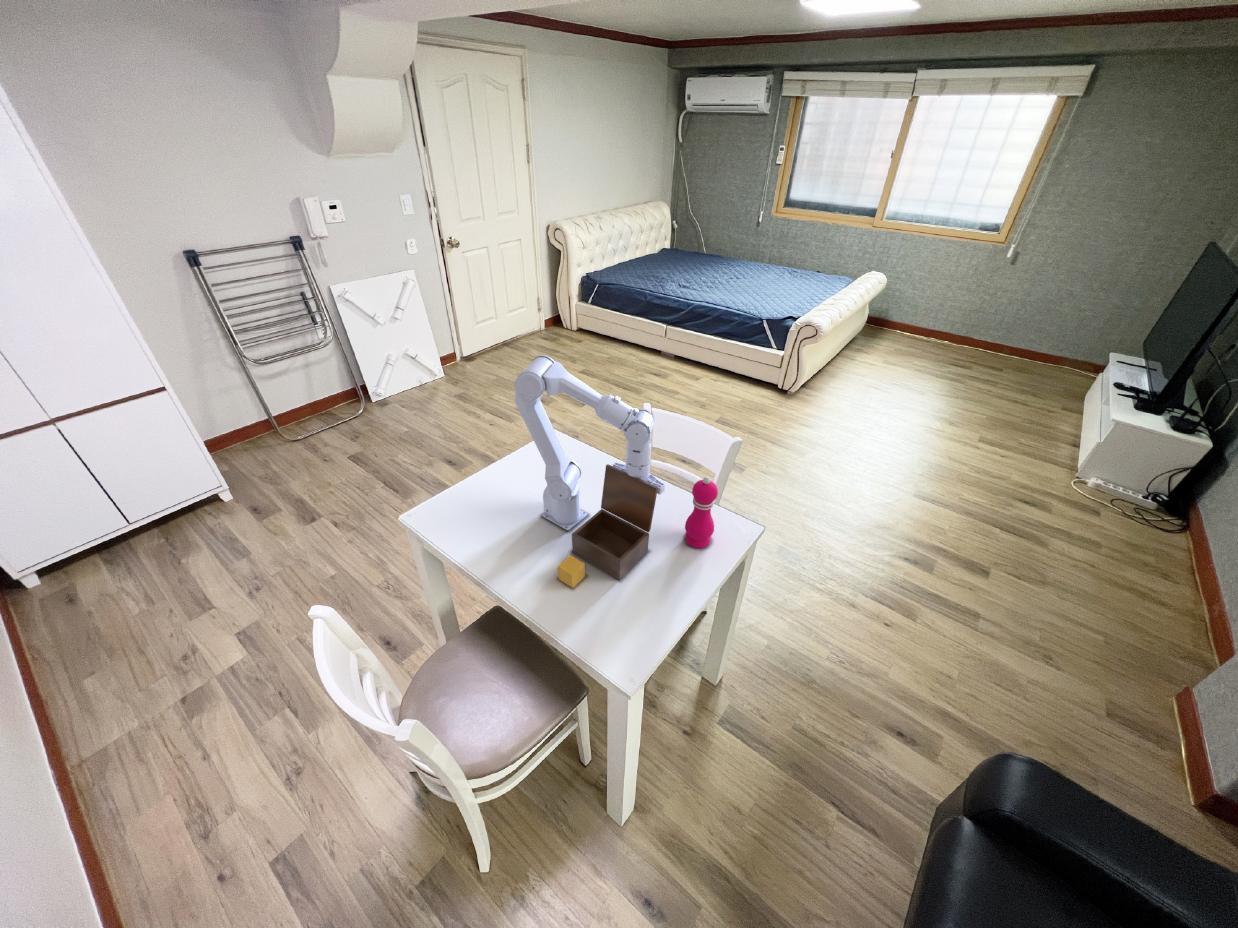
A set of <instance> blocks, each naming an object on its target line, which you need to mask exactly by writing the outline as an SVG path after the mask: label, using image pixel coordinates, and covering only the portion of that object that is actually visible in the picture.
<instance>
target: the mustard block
mask: <svg viewBox="0 0 1238 928" xmlns="http://www.w3.org/2000/svg"><path fill="white" fill-rule="evenodd" d="M557 577H558V580H559V581H561V582H562V583H564V584H565V585H566V586H569V587H570V588H572V589H574V588H575V587H576V586H577V585H578V584H579V583H580V582H581V581H582V580H583V579H585V577H586V564H585V562H584V561H581V560H579V559H578V558H576V557H575V556H573V555H571V554H570V555H568V556H567V557H566V558H565V559H564V560H563V561H562V562H561V563H560V564H558V565H557Z"/></svg>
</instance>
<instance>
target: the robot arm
mask: <svg viewBox="0 0 1238 928" xmlns="http://www.w3.org/2000/svg"><path fill="white" fill-rule="evenodd" d="M513 387H514V389H515V390H514V391H515V393H514V402H515V403H514V404H515V405H516V407H517V409H518V412H519V413H520V416H521V418H522V420H523V422H524V424H525V426H526V428H527V430H528V432H529V435H530V437H531V438H532V440H533V442H534V445H535V446H536V448H537V450H538V452H539V455H540V457H541V458H542V460H543V463H544V464H545V472H544V479H545V482H546V484H547V485H546V487H545V488H544V490H543V493H542V502H543V503H542V504H543V513H542V514H541V515H542V517H543V518H544V519H546V520H548V521H550V522H552V523H553V524H555V525H557V526H559V527H561V528H562V529H563V530H566V531H570V530H571V529H573V528H574V527H575V526H576V525H578V523H580V522H581V521H583V520H584V518H586V517H588V513H587V512H586V511H584V510H582V509H581V499H580V498H581V497H580V486H579V483H578V482H579V480H580V478H581V476H582V468H581V466H580V465H579V464H578V463H577V462H576V461H575V460H574V459H573V457H572V455H570V454H567V453H565V451H564V448H563V447H562V444H561V441H560V440H559V438H558V436H557V433H556V431H555V430H554V427H553V425H552V421H551V420H550V418H549V416H548V414H547V412H546V409H545V407H544V405H543V403H542V400H541V399H542V397H543V396H544V395H543V394H544V393H545V392H546V395H545V396H546V397H551V396H555V395H559V394H564V395H566V396H569V397H570V398H572V399H574V400H576V401H578V402H580V403H582V404H584V405H586V406H588V407H589V408H592V409H594V411H595V414H596V416H597V418H599V419H600V420H602V421H604V422H606V423H607V424H609V425H611V426H612V427H614V428H616V429H617V430H618V431H621V432H623V435H624V438H625V439H626V446H625V449H626V450H625V464H622V463H618V462H614V463H613V464H611V466H613V467H615V468H617V469H619V470H622V471H624V472H626V473H627V474H628V475H629V476H631V477H635V478H639V479H641V480H643V481H646V482H648V483H650V484H652V485H654V486H657V487H658V491H657V495H661V494H663V493H664V492H665V489H666V484H665V483H663V482H661V481H660V480H659V479H658V478H657V477H655V476H654V475H653V474H652V473H651V472H650V468H651V455H652V431H653V429H654V426H655V418H654V415H653V414H652V413H651V412H650V411H648V409H646V408H636V407H632V406H631V405H629V404H627V403H625V402H624V401H622V400H621V399H622V398H621V397H619V396H618V395H615V396H614V395H613V394H611V393H610V394H603V395H602V394H601V393H600V392H598V391H596V389H593V388H592V387H591V386H589V385H588V384H586V383H584V381H582V380H580V379H579V378H577V377H576V376H575V375H573V374H572V373H570V372H569V371H567V370H566V368H565V367H564V366H563V364H562V363H561V362H559V361H557V360H554V359H553V358H552V357H551V356H548V355H545V354H539V355H536V356H535V357H534V358H533V359H532V360H531V362H530V363H528V365H527V366H526V368H525V369H523V371H521V372H520V373H519V374H518V376H517V378H516V379H515V381H514V382H513Z"/></svg>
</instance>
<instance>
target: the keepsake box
mask: <svg viewBox="0 0 1238 928" xmlns="http://www.w3.org/2000/svg"><path fill="white" fill-rule="evenodd" d="M649 543H650V532H646V531H644V530H642V529H640V528H639V527H637V526H635V525H633V524H631V523H629V522H627V521H625V520H623V519H621V518H619V517H617V516H615V515H613V514H612V513H610V512H608V511H606V510H604V509H602V508H601V509H600V510H598V511H597V512H596V513H594V514H593V516H591V517H590V518H589V519H588V520H587V521H586V522H584V523H583V524H582V525H581V526H579V527H578V528H577V529H575V530H574V531H573V532H572V533H571V551H572V553H573V554H575V555H577V556H578V557H579V558H581V559H583V560H584V561H587V562H588V563H590V564H592V565H593V566H595V567H597V568H598V569H600V570H602V571H603V572H605V573H606V574H608V575H610V576H612V577H613V578H615V579H617V580H618V581H621V580H622V579H623V577H625V576H626V575H627V574H628V573H629V572H630V570H632V569H633V567H634V566H635V565H637V564H638V563H639V561H640V560H641V559H642V558H643V557H644V556H645V555H646V554H647V553H648V552H649Z"/></svg>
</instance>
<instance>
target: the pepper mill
mask: <svg viewBox="0 0 1238 928" xmlns="http://www.w3.org/2000/svg"><path fill="white" fill-rule="evenodd" d="M692 486H693V487H692V488H691V494H692V504H693V510H692V512H691V514H689V515H688V517H687V519H686V521H685V524H684V529H685V542H686V544H687V545H689V546H690V547H692V548H694V549H704V548H707V547H708V546H709V545H710V544H711V539H712V535H714V532H715V522H714V518H713V516H712V512H711V511H712V508H714V505H715V500H717V498H718V494H719V489H718V486H717V485H716V483H715V482H714V481H712V480H711V478H710V477H709V476H704V477H703V478H702V479H699V480H697V481H696V482H695V483H693V485H692Z"/></svg>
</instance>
